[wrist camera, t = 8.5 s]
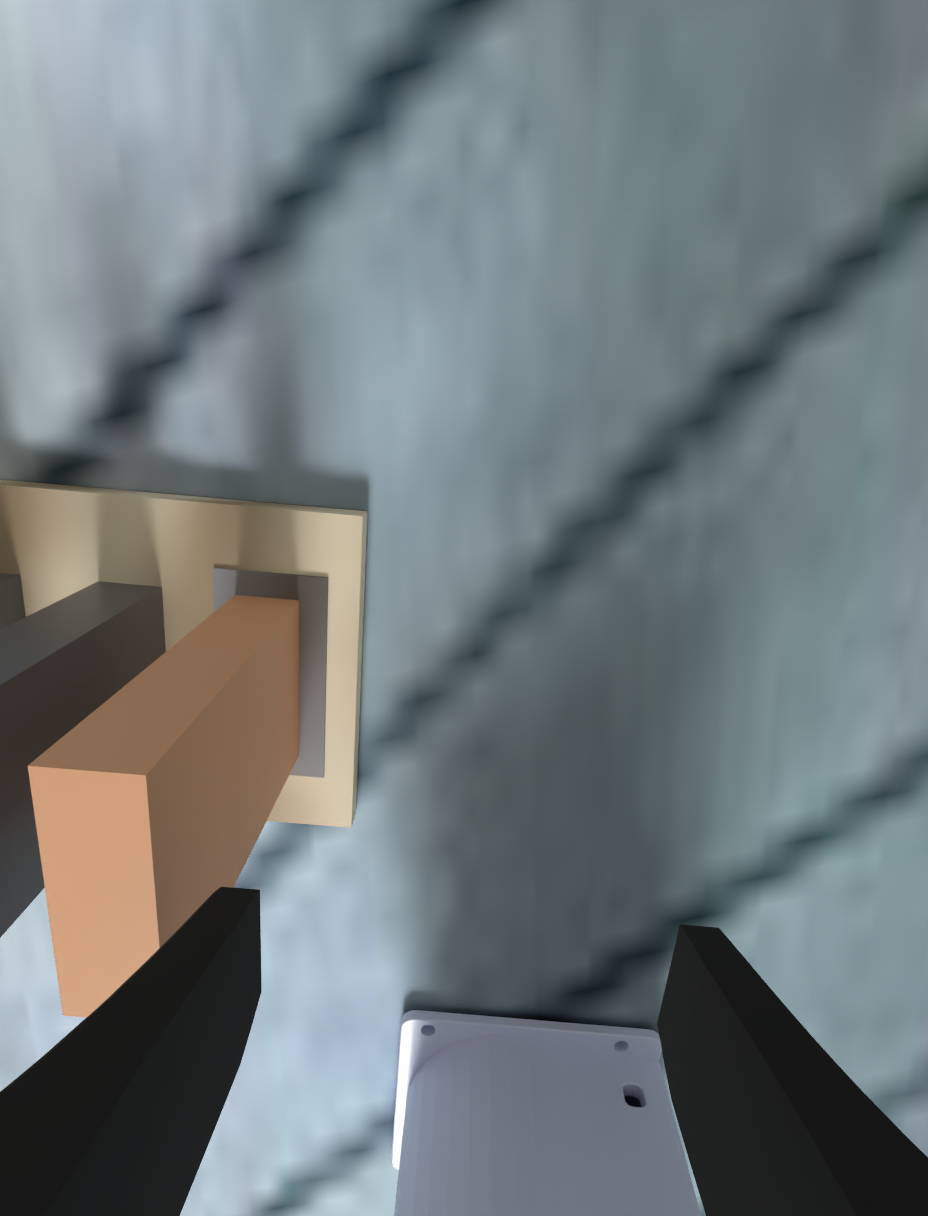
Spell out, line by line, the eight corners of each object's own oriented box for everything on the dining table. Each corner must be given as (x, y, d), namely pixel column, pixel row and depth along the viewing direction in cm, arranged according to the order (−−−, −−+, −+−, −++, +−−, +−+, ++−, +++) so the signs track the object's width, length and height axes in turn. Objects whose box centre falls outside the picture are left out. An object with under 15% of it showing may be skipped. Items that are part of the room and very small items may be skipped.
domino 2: (298, 600, 19) (145, 775, 10) (298, 756, 20) (165, 1023, 12) (235, 595, 19) (28, 765, 10) (239, 751, 20) (63, 1015, 12)
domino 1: (162, 586, 19) (-106, 749, 10) (171, 743, 20) (-55, 999, 12) (98, 581, 19) (-224, 739, 10) (112, 738, 20) (-156, 990, 12)
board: (367, 511, 19) (362, 516, 18) (355, 812, 22) (350, 829, 21) (-378, 446, 19) (-419, 449, 18) (-283, 758, 22) (-315, 773, 21)
